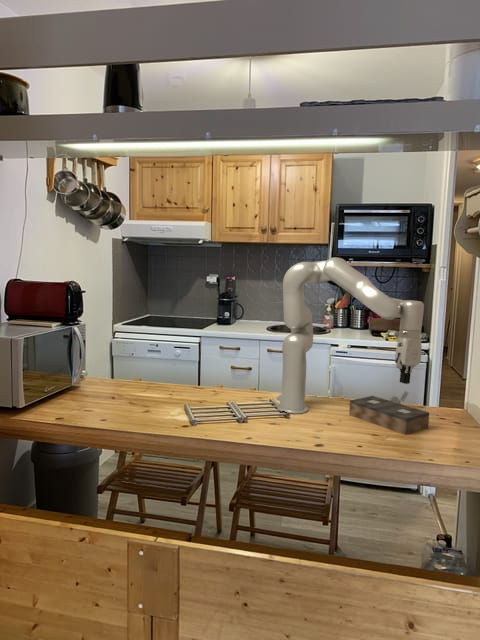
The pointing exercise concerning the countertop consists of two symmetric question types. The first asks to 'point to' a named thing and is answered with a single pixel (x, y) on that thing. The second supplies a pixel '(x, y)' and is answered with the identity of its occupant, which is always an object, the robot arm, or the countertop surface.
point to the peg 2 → (404, 411)
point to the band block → (389, 415)
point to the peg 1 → (373, 401)
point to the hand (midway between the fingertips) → (404, 382)
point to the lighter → (396, 400)
